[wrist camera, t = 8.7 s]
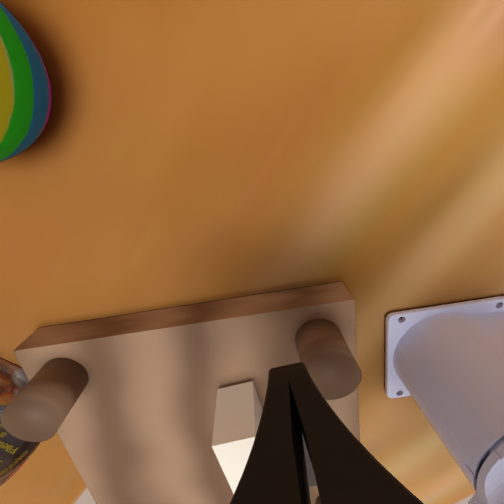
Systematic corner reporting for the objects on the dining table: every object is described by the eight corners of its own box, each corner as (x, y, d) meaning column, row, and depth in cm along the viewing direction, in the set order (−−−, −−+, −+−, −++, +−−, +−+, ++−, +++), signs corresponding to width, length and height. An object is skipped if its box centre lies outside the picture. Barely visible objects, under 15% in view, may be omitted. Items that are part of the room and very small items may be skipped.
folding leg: (301, 508, 25) (312, 574, 21) (265, 516, 25) (269, 582, 21) (257, 379, 20) (261, 435, 16) (212, 390, 20) (205, 447, 16)
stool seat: (341, 281, 20) (379, 333, 15) (352, 483, 28) (380, 569, 22) (38, 327, 21) (-37, 395, 15) (130, 514, 28) (102, 604, 23)
